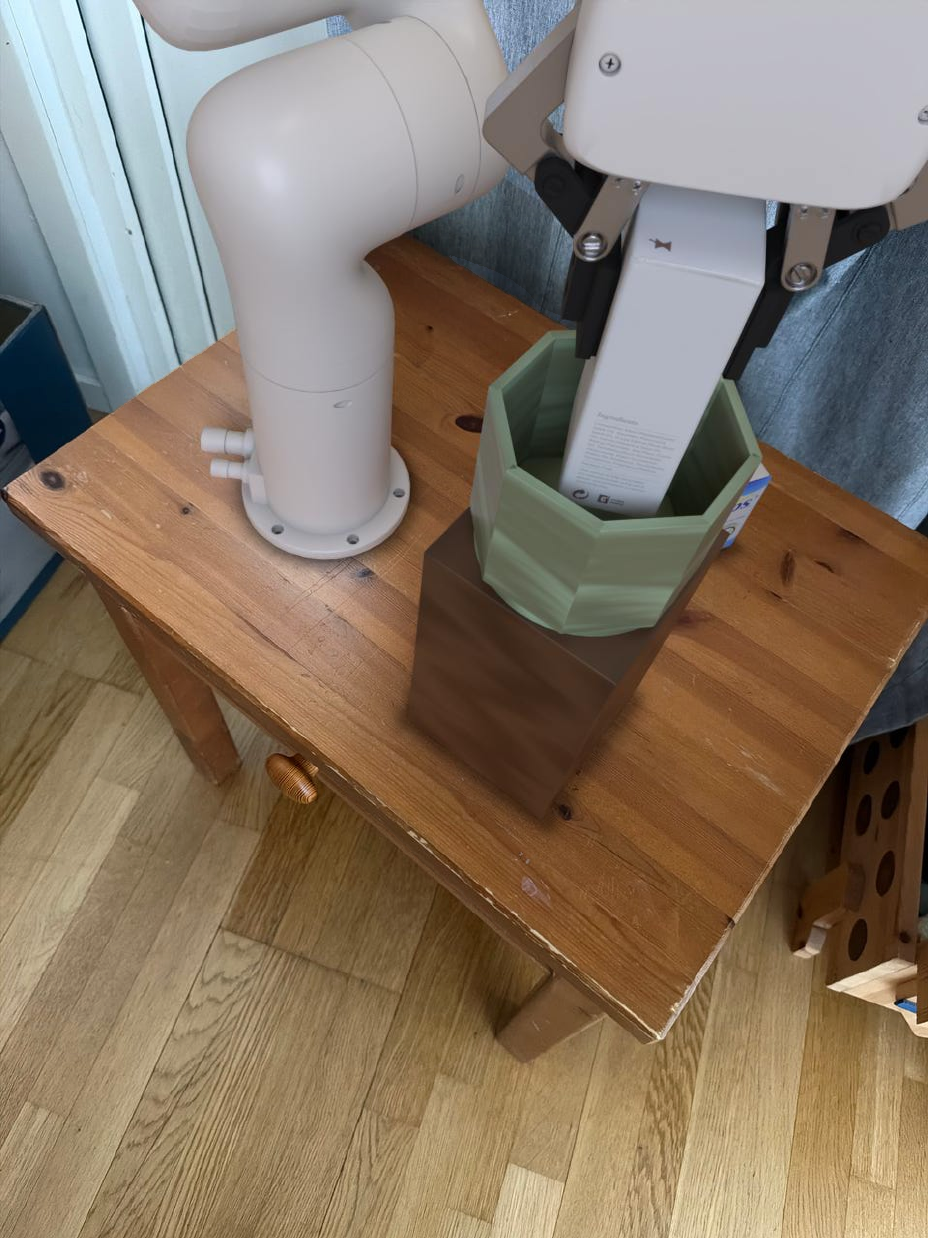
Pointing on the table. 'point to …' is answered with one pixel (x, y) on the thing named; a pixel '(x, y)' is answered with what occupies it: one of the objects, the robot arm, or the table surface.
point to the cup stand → (559, 583)
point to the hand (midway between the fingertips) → (656, 338)
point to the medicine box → (746, 503)
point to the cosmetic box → (662, 344)
